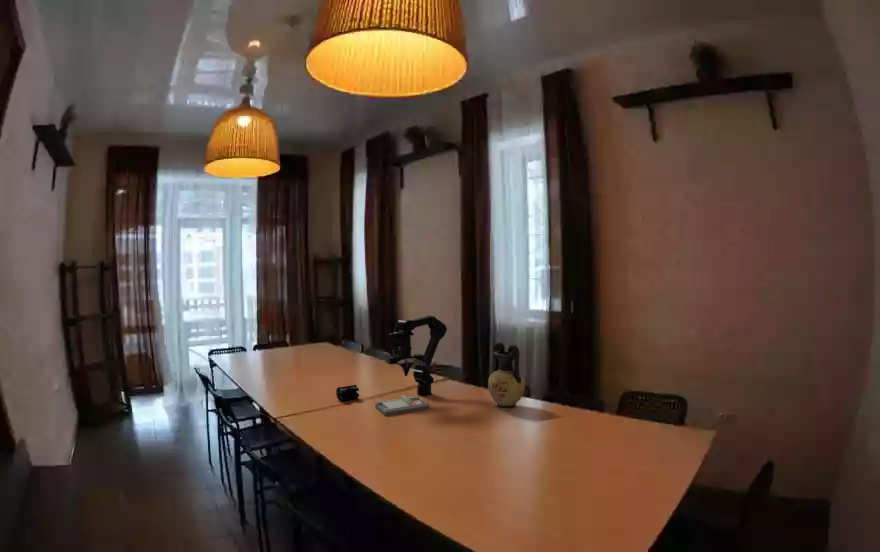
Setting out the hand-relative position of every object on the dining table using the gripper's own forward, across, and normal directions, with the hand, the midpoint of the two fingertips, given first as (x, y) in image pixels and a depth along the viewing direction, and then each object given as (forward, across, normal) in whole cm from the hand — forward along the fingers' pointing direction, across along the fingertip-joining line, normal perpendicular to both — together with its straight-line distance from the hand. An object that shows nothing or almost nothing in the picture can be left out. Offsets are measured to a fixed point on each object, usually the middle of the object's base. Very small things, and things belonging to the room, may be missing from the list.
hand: (405, 376), depth 255 cm
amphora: (+12, -37, +35) cm, 52 cm away
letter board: (+12, +7, +13) cm, 19 cm away
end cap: (+12, +26, -15) cm, 32 cm away
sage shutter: (+10, +10, +13) cm, 19 cm away
